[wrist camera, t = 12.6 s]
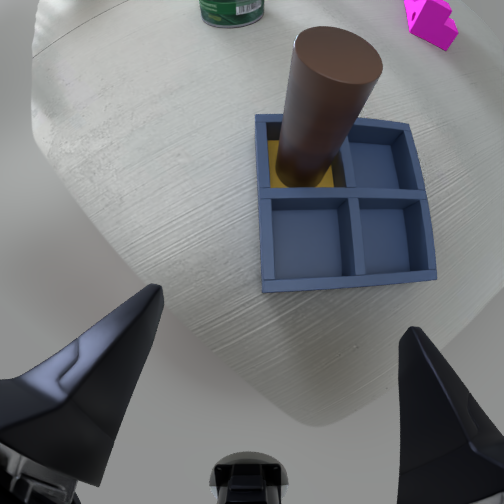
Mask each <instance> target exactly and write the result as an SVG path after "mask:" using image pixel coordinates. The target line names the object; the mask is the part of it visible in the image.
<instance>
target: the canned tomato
mask: <svg viewBox="0 0 504 504" xmlns="http://www.w3.org/2000/svg"><path fill="white" fill-rule="evenodd" d="M199 4H200V9H201V17H202V20H203V21H204V22H205V23H207V24H209V25H212V26H215V27H221V28H235V27H242V26H246V25H249V24H252V23H254V22H256V21H258V20H259V19H260V18H261V17H262V16H263V13H264V9H263V8H264V0H199Z"/></svg>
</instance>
